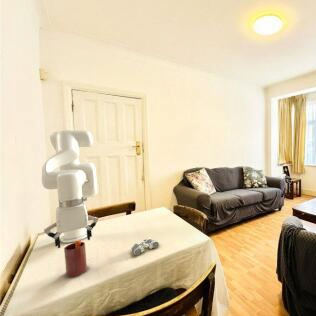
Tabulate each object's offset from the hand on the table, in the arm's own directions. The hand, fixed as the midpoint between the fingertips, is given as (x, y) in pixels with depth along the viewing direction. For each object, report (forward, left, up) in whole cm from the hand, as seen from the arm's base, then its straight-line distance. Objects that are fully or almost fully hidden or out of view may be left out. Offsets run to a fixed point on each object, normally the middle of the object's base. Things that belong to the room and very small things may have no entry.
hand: (74, 242), depth 84 cm
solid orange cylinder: (0, 0, -12) cm, 12 cm away
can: (0, 0, -13) cm, 13 cm away
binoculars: (0, +27, -13) cm, 30 cm away
